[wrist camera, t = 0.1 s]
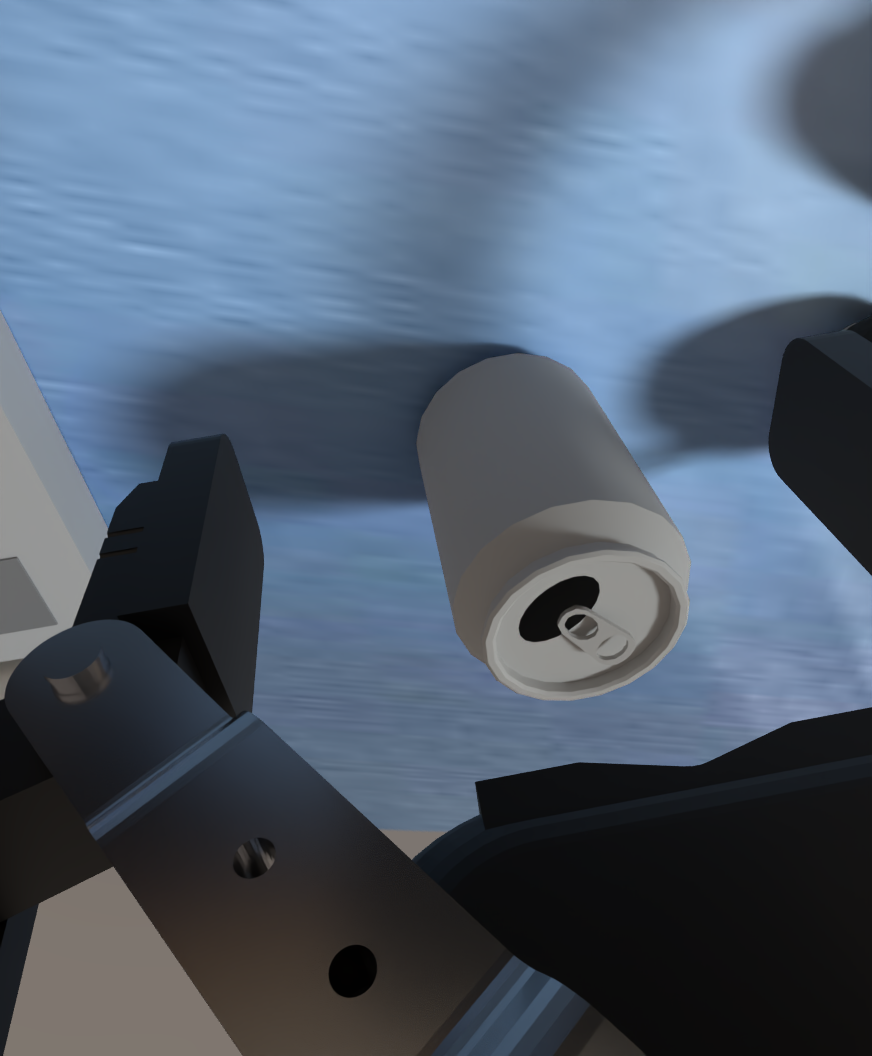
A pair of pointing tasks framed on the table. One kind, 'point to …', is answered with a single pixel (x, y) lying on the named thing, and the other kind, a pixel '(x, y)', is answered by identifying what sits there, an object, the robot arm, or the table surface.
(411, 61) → the table surface
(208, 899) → the robot arm
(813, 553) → the table surface
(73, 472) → the power strip
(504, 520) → the can
